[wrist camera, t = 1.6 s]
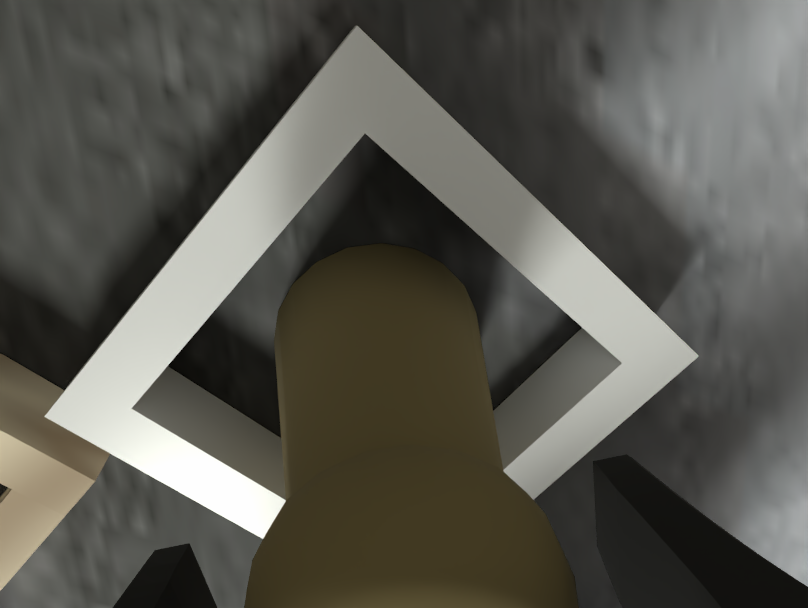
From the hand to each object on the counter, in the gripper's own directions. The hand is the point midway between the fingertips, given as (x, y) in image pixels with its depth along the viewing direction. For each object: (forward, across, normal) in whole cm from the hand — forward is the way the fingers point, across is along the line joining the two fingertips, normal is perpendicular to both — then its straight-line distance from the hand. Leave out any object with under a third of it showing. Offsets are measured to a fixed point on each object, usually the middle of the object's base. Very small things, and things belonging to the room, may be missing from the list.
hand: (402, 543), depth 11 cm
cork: (+8, 0, 0) cm, 8 cm away
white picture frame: (+8, 0, 0) cm, 8 cm away
